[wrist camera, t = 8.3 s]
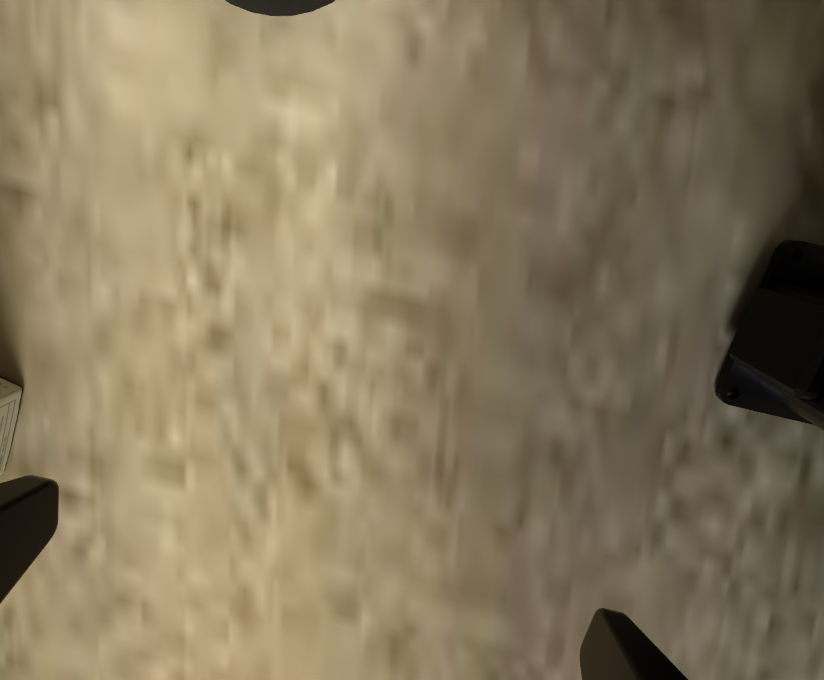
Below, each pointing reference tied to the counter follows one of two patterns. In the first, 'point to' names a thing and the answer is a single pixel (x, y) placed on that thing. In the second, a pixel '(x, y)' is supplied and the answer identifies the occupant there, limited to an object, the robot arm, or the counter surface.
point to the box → (7, 417)
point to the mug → (280, 6)
